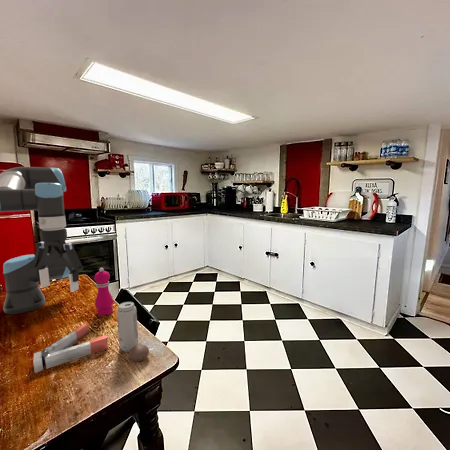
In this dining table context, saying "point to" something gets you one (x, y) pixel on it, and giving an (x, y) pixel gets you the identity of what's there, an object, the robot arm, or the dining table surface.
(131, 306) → the energy drink can
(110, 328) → the dining table surface
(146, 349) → the egg
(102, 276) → the pepper mill
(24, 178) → the robot arm
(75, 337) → the tongs arm
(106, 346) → the tongs fixed
